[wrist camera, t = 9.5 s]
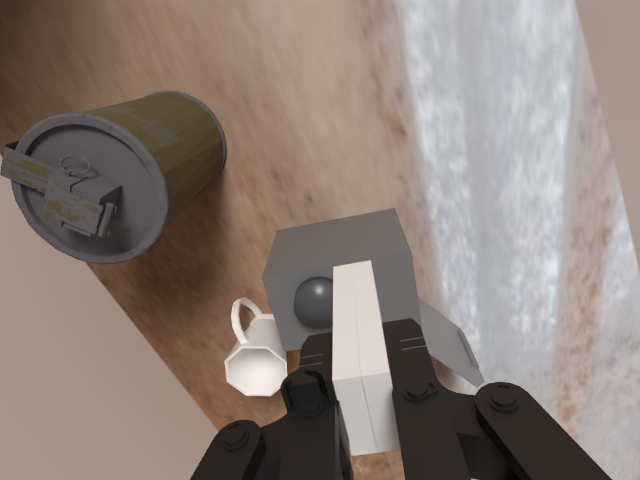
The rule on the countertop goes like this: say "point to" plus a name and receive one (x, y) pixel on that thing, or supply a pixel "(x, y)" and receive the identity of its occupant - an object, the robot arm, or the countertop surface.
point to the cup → (256, 354)
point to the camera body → (317, 272)
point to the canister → (114, 173)
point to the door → (449, 344)
